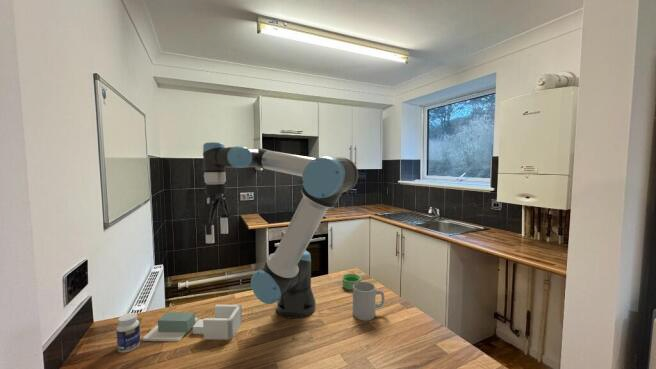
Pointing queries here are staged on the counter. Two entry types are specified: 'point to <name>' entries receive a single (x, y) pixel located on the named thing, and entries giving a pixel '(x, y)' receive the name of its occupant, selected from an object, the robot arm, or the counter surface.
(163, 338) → the plate
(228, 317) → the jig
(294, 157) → the robot arm
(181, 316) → the bar
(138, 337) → the pill bottle
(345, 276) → the ramekin
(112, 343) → the counter surface
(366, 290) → the mug
